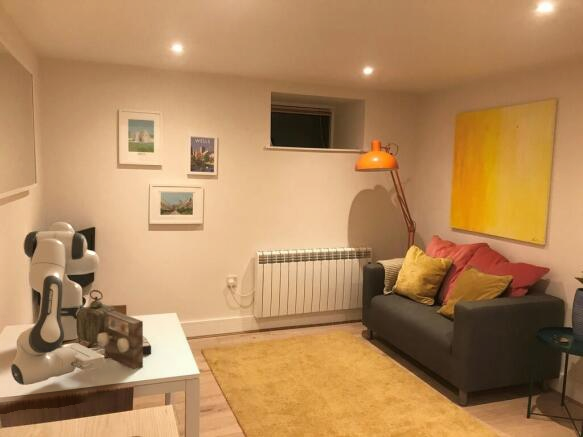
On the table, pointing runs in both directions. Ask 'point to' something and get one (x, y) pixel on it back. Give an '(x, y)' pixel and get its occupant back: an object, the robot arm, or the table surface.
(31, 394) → the table surface
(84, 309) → the tabletop clock
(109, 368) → the table surface
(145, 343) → the calculator
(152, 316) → the table surface
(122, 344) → the button
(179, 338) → the table surface
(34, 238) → the robot arm
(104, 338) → the button
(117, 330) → the button panel
